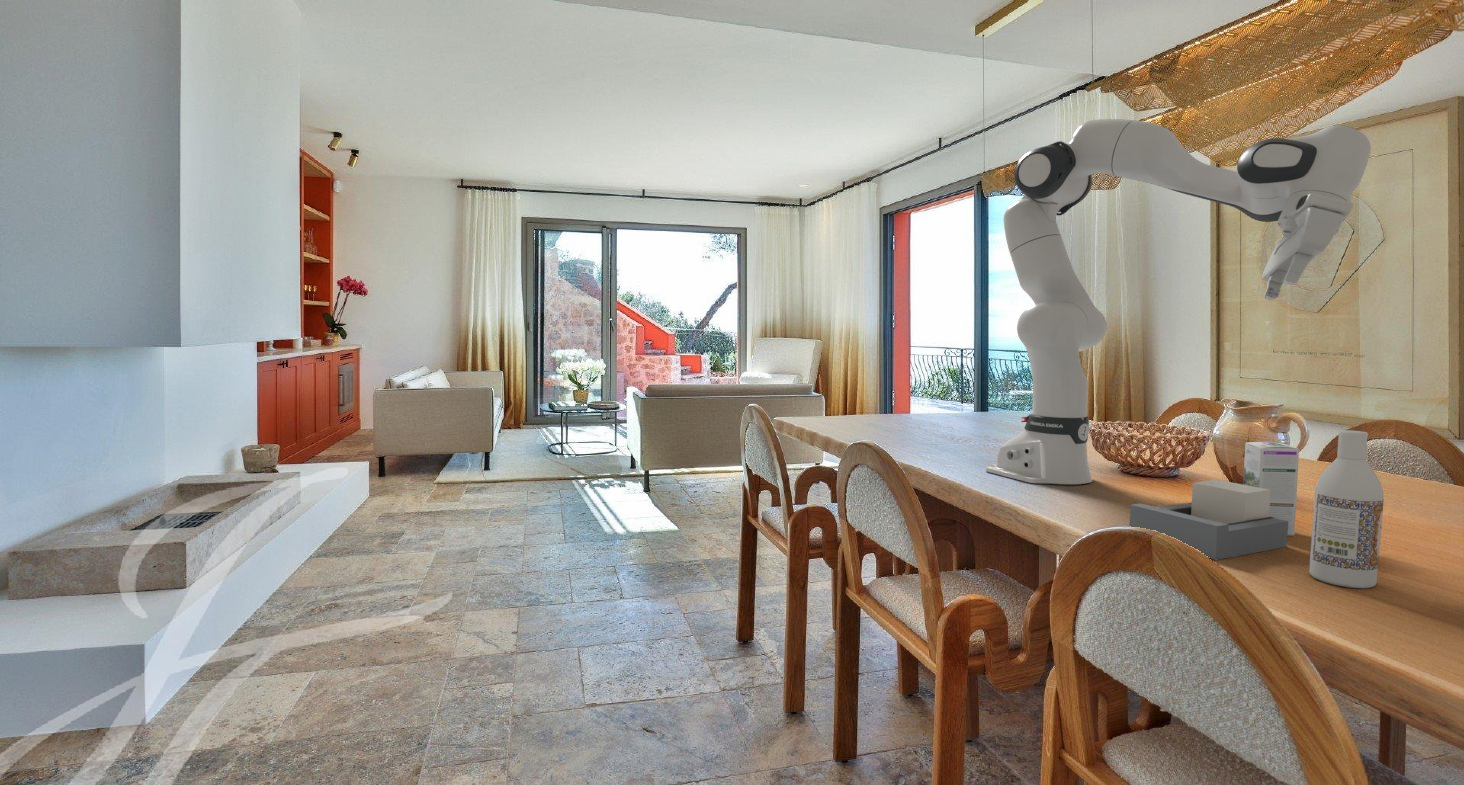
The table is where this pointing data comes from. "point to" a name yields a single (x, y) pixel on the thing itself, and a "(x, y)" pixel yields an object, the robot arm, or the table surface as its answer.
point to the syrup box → (1274, 477)
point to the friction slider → (1229, 501)
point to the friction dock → (1211, 530)
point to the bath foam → (1347, 517)
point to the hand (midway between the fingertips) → (1279, 291)
